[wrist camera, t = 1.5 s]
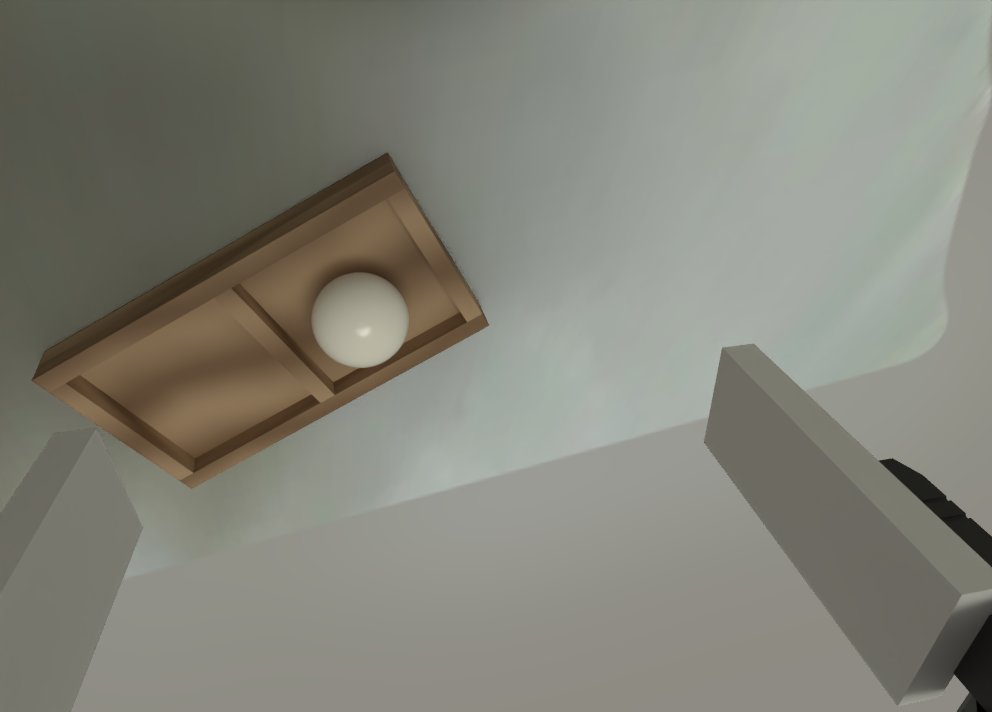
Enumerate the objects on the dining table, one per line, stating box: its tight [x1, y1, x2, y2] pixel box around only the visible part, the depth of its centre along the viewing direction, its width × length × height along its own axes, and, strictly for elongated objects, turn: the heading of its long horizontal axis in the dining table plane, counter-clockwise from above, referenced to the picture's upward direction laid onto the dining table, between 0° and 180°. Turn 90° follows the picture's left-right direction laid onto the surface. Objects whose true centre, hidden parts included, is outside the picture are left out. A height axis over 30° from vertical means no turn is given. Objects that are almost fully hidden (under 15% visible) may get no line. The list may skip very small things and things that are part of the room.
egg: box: [311, 272, 409, 368], centre depth 33 cm, size 5×5×5 cm
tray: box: [32, 153, 489, 489], centre depth 35 cm, size 11×21×2 cm, turn 115°
